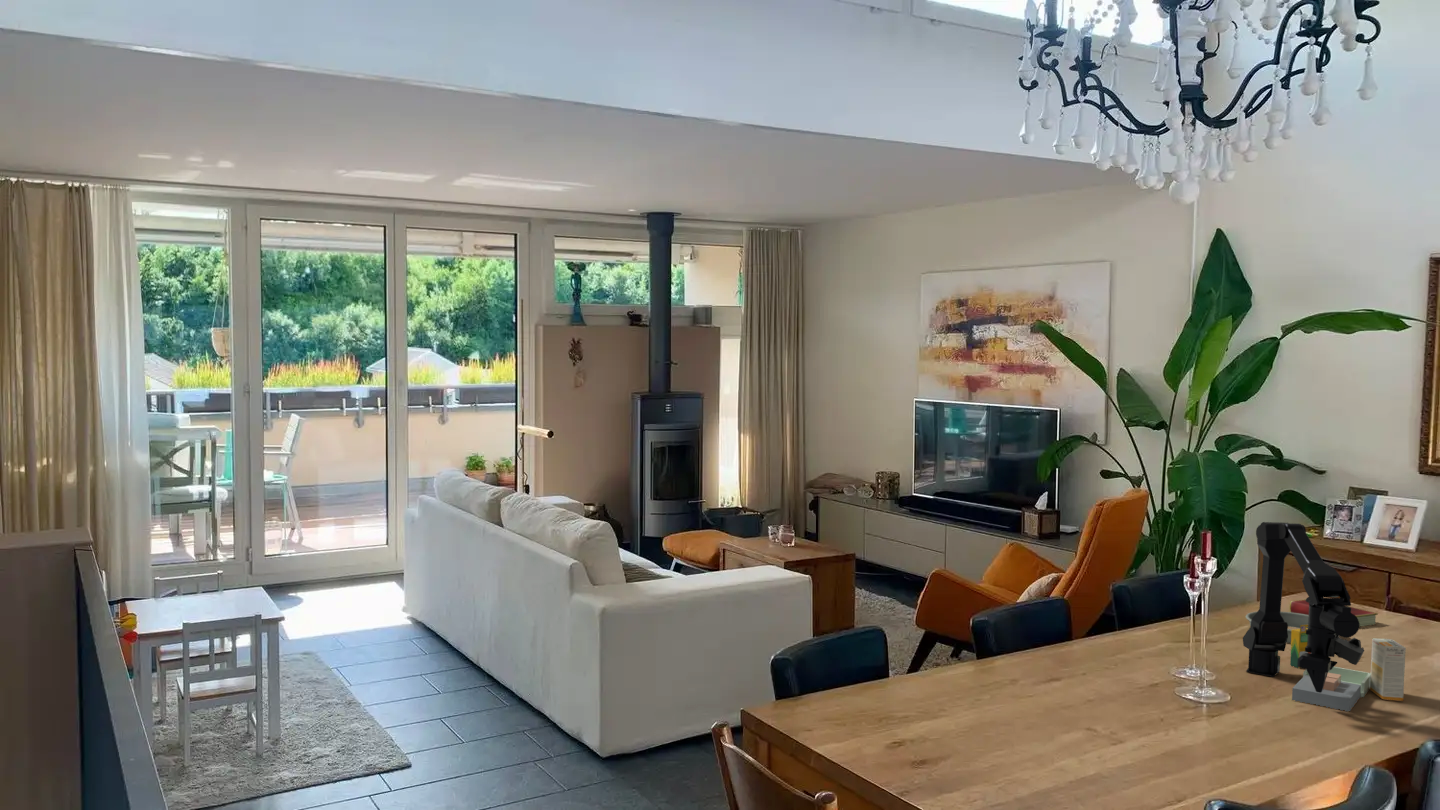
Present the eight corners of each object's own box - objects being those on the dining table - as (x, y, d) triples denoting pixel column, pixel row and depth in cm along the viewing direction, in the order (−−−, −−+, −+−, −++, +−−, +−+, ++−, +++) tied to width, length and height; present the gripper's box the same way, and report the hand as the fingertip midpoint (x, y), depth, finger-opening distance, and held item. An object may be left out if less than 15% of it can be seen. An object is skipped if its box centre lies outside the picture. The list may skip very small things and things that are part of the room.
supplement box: (1404, 701, 258) (1407, 647, 257) (1382, 700, 259) (1384, 646, 258) (1390, 691, 266) (1393, 638, 265) (1368, 689, 267) (1371, 637, 266)
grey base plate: (1291, 700, 258) (1292, 688, 258) (1304, 686, 268) (1305, 674, 268) (1349, 711, 250) (1349, 699, 250) (1360, 697, 261) (1360, 684, 261)
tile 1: (1314, 687, 258) (1315, 679, 258) (1318, 683, 261) (1318, 675, 261) (1333, 691, 256) (1334, 682, 255) (1337, 687, 259) (1337, 679, 259)
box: (1302, 686, 269) (1302, 672, 269) (1311, 676, 277) (1312, 662, 277) (1363, 697, 260) (1363, 683, 260) (1371, 687, 269) (1371, 673, 269)
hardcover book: (1350, 629, 327) (1351, 615, 327) (1289, 613, 346) (1289, 600, 346) (1377, 626, 332) (1377, 612, 332) (1315, 610, 351) (1315, 597, 351)
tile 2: (1318, 683, 262) (1319, 675, 261) (1322, 679, 265) (1322, 671, 265) (1337, 686, 259) (1337, 678, 259) (1340, 682, 262) (1341, 674, 262)
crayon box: (1310, 663, 289) (1312, 620, 288) (1320, 666, 286) (1322, 623, 286) (1289, 665, 287) (1291, 622, 286) (1298, 668, 284) (1300, 625, 283)
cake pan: (1357, 648, 306) (1358, 632, 306) (1270, 646, 306) (1270, 630, 306) (1311, 625, 330) (1311, 611, 330) (1230, 624, 331) (1230, 609, 330)
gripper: (1354, 640, 239) (1351, 709, 240) (1369, 624, 253) (1365, 689, 254) (1298, 631, 246) (1295, 698, 247) (1315, 616, 261) (1312, 680, 261)
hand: (1319, 692), depth 252 cm, fingers closed
